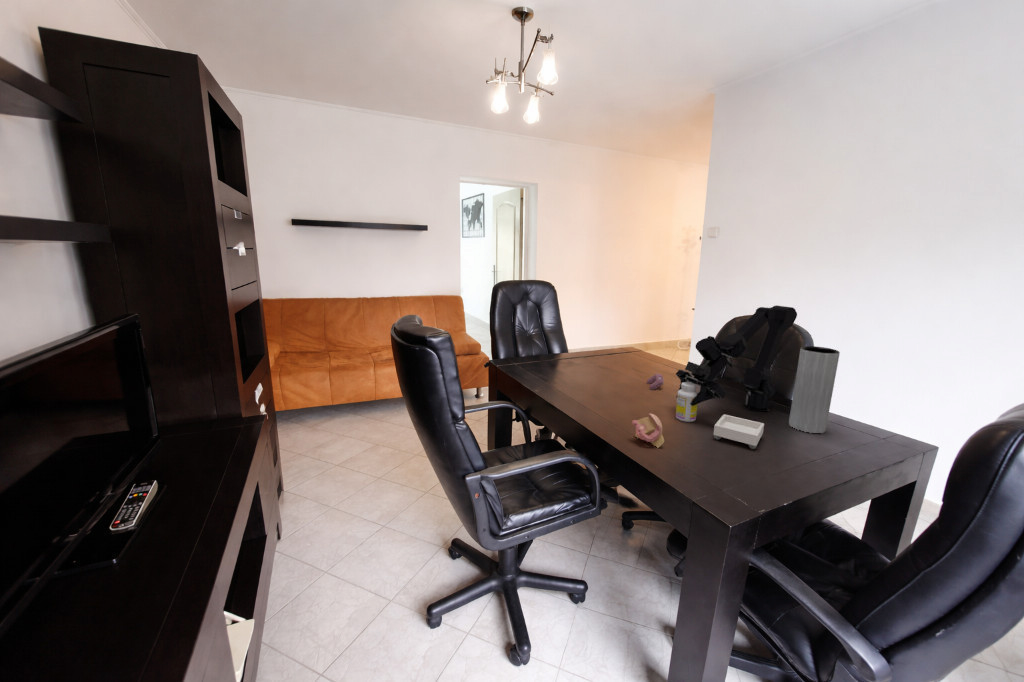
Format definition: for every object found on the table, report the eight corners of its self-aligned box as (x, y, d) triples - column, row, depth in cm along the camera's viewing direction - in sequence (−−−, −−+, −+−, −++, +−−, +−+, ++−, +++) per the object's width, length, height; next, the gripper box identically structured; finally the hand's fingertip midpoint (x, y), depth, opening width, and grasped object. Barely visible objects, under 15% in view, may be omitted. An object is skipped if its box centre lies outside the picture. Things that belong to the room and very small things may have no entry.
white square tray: (722, 427, 133) (723, 414, 132) (762, 437, 125) (764, 423, 124) (712, 439, 124) (714, 425, 123) (755, 451, 117) (757, 436, 116)
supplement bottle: (694, 416, 142) (698, 382, 139) (696, 423, 136) (700, 388, 133) (674, 413, 144) (677, 380, 141) (675, 420, 138) (679, 385, 135)
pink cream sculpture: (636, 433, 130) (660, 415, 127) (653, 459, 123) (678, 441, 120) (623, 425, 124) (648, 407, 121) (641, 452, 117) (667, 433, 114)
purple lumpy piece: (658, 393, 170) (667, 380, 168) (648, 388, 170) (657, 375, 168) (654, 386, 179) (663, 373, 177) (645, 381, 179) (654, 368, 178)
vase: (792, 419, 139) (804, 344, 134) (827, 427, 132) (842, 349, 127) (785, 427, 133) (797, 349, 127) (822, 437, 126) (837, 354, 120)
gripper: (682, 348, 145) (654, 379, 144) (722, 360, 127) (691, 396, 126) (697, 367, 149) (670, 397, 148) (738, 381, 131) (708, 416, 130)
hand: (684, 401), depth 138 cm, fingers closed on supplement bottle, 7 cm apart
